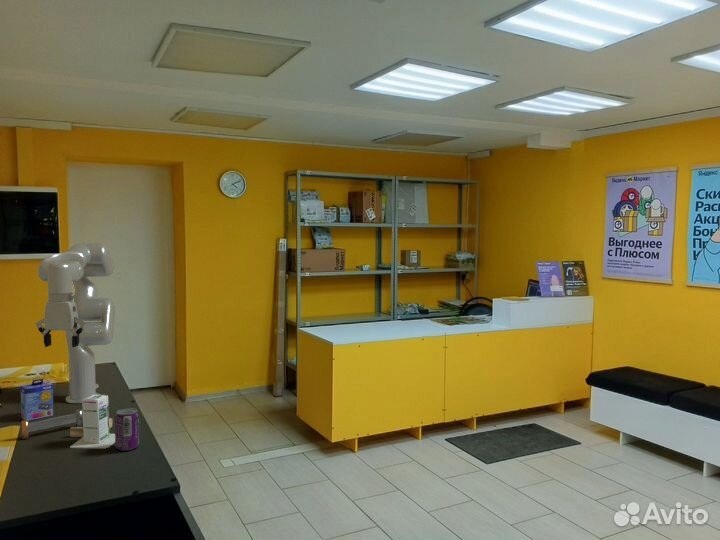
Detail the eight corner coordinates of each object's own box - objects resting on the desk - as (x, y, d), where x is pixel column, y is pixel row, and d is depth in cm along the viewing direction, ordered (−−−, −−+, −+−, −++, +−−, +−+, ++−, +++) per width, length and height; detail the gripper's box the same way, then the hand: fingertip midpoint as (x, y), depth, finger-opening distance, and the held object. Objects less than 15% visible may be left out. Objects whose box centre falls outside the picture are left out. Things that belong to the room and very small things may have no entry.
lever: (81, 424, 203) (81, 408, 203) (84, 426, 201) (83, 410, 201) (21, 437, 190) (20, 420, 190) (23, 439, 188) (22, 422, 188)
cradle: (86, 425, 203) (86, 417, 203) (113, 426, 203) (112, 417, 203) (70, 436, 192) (70, 428, 192) (98, 437, 192) (98, 428, 192)
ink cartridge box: (25, 422, 206) (23, 382, 205) (20, 418, 210) (18, 379, 209) (54, 415, 213) (53, 377, 212) (49, 412, 217) (48, 374, 216)
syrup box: (99, 443, 185) (98, 399, 184) (82, 442, 186) (81, 398, 185) (109, 437, 191) (109, 394, 190) (93, 436, 192) (92, 393, 191)
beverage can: (144, 445, 185) (143, 409, 185) (128, 453, 179) (127, 415, 178) (126, 442, 188) (125, 406, 187) (110, 450, 181) (109, 413, 180)
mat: (88, 434, 194) (88, 433, 194) (123, 434, 194) (123, 433, 194) (69, 448, 182) (69, 446, 182) (107, 448, 182) (107, 447, 182)
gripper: (90, 297, 204) (91, 344, 205) (41, 296, 204) (43, 343, 205) (79, 299, 196) (80, 348, 198) (29, 299, 196) (31, 348, 198)
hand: (61, 346), depth 201 cm, fingers open, 9 cm apart
